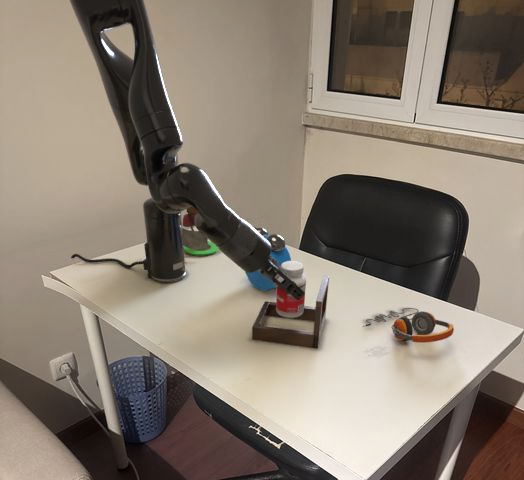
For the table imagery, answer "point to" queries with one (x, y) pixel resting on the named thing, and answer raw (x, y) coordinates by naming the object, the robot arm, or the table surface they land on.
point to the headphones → (417, 327)
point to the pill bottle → (286, 302)
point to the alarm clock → (277, 253)
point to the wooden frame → (309, 314)
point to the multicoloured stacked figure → (195, 237)
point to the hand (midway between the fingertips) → (294, 289)
